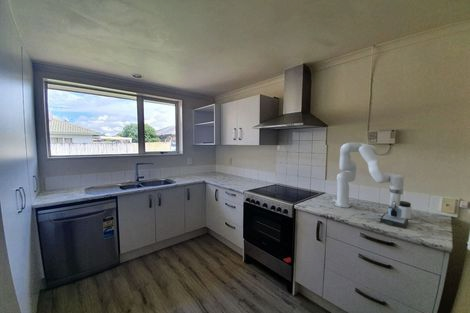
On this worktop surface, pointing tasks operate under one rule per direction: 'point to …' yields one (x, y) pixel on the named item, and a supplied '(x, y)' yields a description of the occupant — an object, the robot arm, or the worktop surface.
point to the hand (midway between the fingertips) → (394, 214)
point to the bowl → (399, 211)
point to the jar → (405, 209)
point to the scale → (394, 221)
